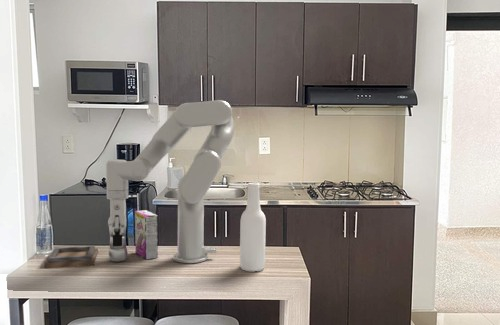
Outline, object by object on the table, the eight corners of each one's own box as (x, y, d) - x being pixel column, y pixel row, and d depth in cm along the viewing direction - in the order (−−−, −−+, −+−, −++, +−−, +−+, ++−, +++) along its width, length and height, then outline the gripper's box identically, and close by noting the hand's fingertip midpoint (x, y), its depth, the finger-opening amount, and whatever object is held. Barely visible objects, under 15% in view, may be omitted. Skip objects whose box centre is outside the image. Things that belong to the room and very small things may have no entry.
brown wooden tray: (97, 252, 176) (97, 244, 176) (93, 265, 161) (93, 256, 160) (53, 254, 173) (53, 246, 172) (44, 267, 157) (44, 259, 157)
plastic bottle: (122, 264, 163) (122, 208, 161) (104, 262, 164) (104, 207, 162) (130, 258, 169) (130, 205, 167) (113, 257, 170) (113, 204, 169)
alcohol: (263, 273, 156) (265, 185, 153) (237, 271, 157) (239, 184, 154) (266, 265, 164) (267, 182, 162) (241, 263, 166) (243, 181, 163)
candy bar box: (134, 252, 177) (134, 210, 175) (146, 251, 180) (146, 209, 178) (145, 260, 168) (145, 216, 166) (158, 258, 170) (158, 214, 169)
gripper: (127, 197, 157) (128, 249, 159) (128, 190, 174) (129, 237, 175) (104, 198, 155) (105, 250, 157) (108, 190, 172) (108, 238, 173)
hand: (117, 243), depth 166 cm, fingers closed on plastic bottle, 5 cm apart
